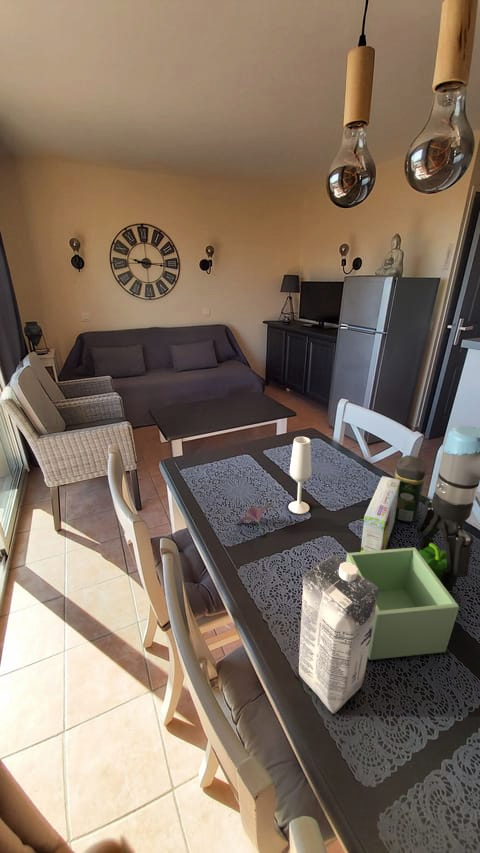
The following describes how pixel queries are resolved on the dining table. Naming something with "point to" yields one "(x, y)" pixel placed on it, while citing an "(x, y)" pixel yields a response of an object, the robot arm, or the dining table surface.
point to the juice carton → (335, 630)
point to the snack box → (380, 515)
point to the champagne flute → (300, 470)
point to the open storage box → (406, 604)
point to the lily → (254, 514)
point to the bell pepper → (435, 559)
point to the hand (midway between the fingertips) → (433, 574)
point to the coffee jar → (409, 487)
